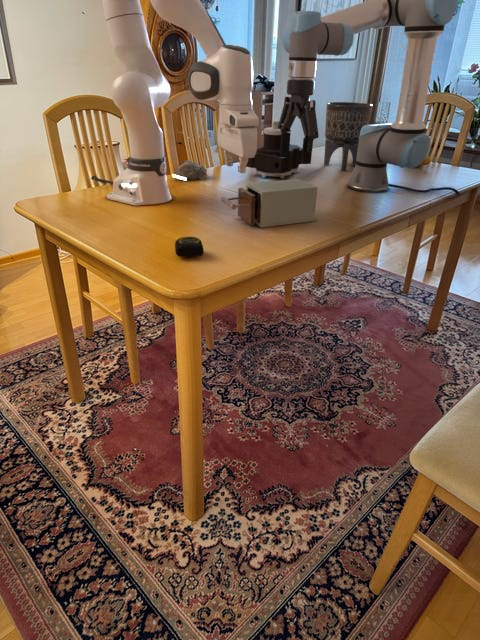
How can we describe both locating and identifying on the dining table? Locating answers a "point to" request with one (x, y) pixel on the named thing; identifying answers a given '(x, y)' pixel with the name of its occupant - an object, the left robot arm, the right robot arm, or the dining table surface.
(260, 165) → the mechanical component
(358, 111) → the planter
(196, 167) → the rock
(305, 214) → the cabinet
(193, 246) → the tape measure
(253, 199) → the drawer
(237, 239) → the dining table surface
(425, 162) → the toy
